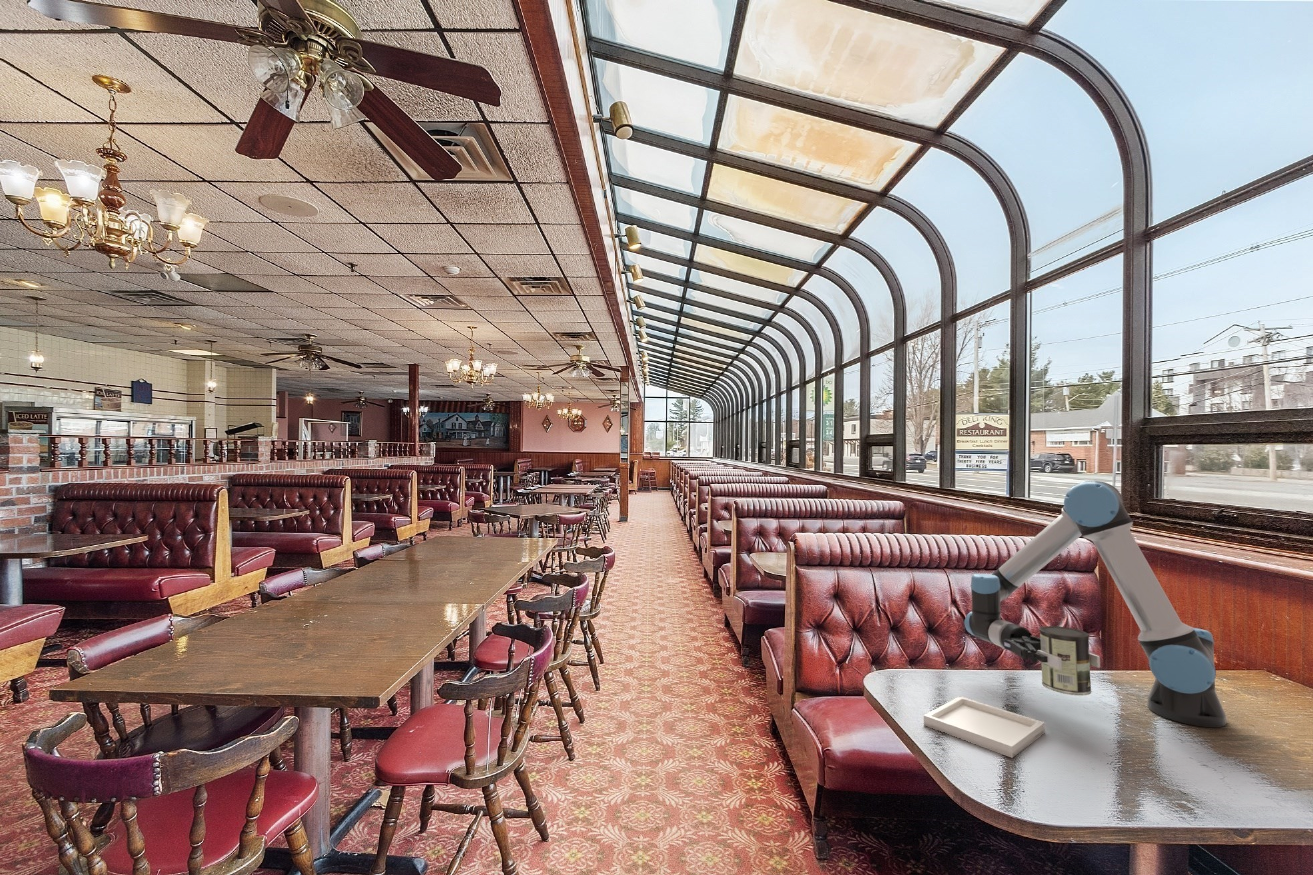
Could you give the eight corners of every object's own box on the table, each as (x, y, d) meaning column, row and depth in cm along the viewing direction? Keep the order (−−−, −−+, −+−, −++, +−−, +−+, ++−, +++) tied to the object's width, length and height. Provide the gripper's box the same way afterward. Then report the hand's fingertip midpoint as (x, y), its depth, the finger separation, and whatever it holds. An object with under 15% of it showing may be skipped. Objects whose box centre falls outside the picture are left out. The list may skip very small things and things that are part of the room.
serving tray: (1044, 732, 139) (1044, 722, 140) (1012, 757, 127) (1012, 746, 127) (960, 705, 155) (959, 696, 155) (923, 725, 143) (923, 715, 143)
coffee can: (1078, 681, 148) (1075, 626, 149) (1100, 697, 138) (1097, 638, 139) (1034, 678, 150) (1032, 624, 151) (1052, 693, 140) (1050, 635, 141)
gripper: (1046, 648, 164) (1120, 676, 142) (975, 652, 160) (1039, 680, 138) (1045, 622, 164) (1119, 645, 142) (974, 624, 161) (1037, 649, 139)
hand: (1079, 662), depth 140 cm, fingers closed on coffee can, 10 cm apart
